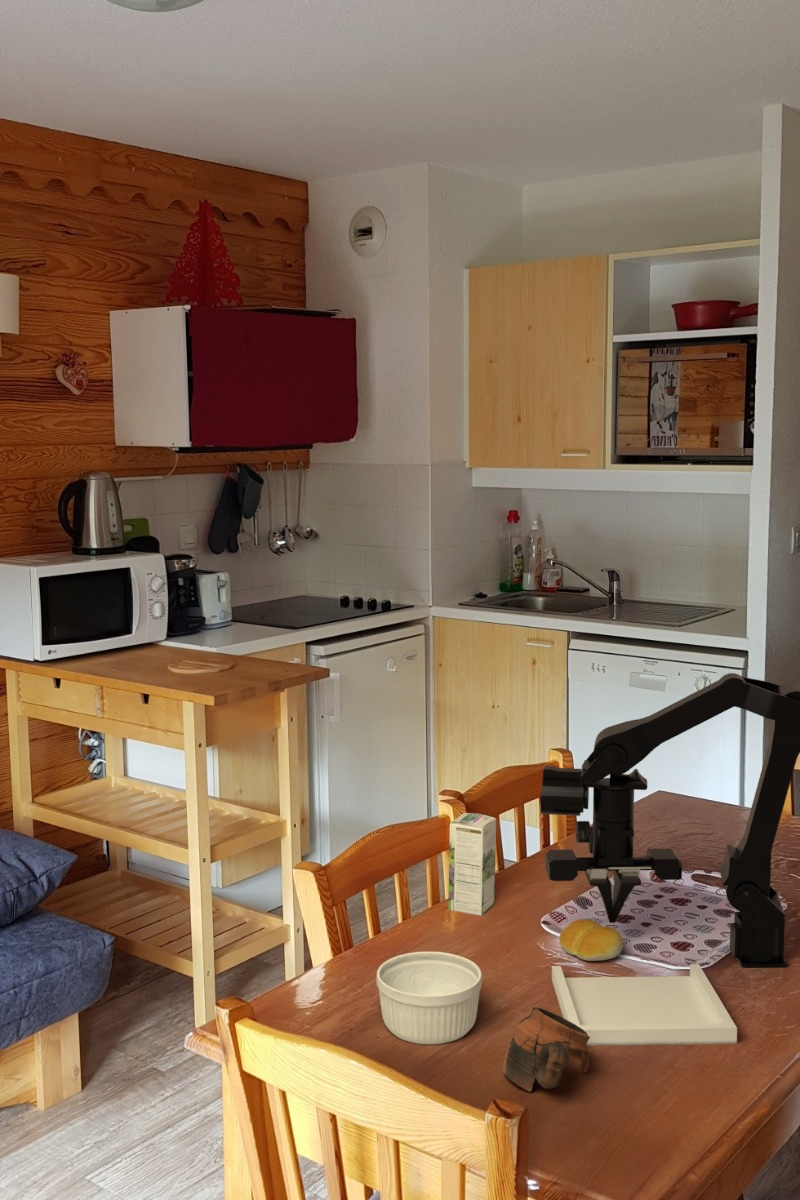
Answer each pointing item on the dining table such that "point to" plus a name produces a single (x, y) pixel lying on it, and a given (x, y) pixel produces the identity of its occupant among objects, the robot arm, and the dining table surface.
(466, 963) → the ramekin
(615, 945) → the bread roll
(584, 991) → the tray
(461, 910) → the syrup box
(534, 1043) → the pottery mug
